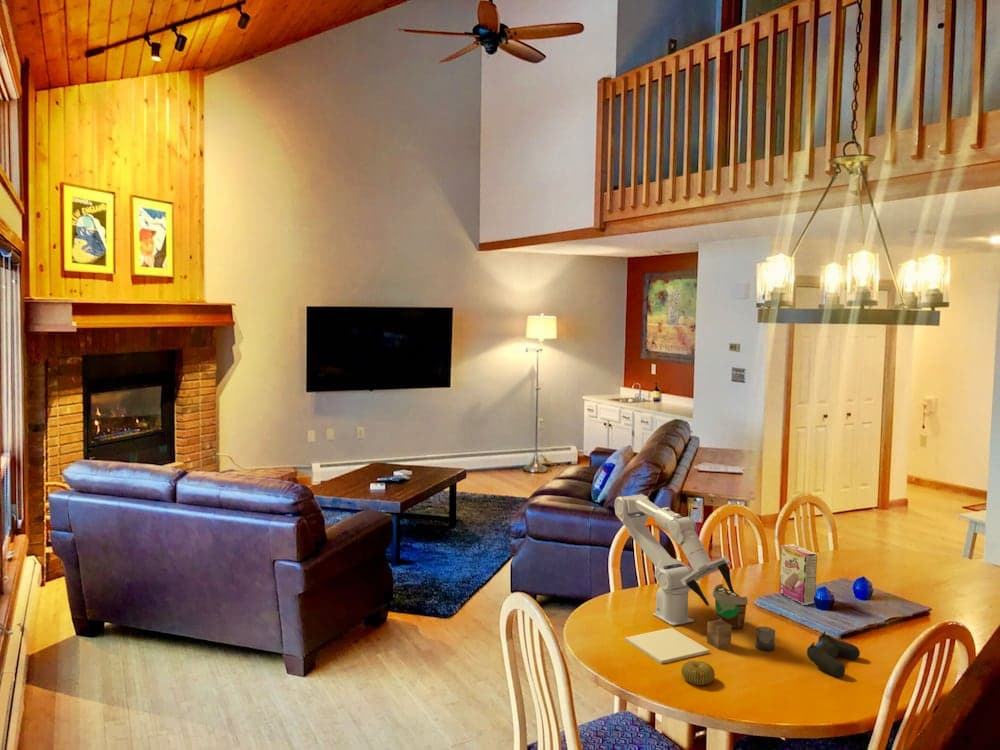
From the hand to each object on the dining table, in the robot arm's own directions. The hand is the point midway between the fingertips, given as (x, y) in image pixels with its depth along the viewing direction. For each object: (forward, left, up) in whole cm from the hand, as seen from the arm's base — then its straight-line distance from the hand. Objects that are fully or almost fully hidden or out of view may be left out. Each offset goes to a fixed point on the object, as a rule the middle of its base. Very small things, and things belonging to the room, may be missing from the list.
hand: (719, 598), depth 216 cm
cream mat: (-5, -14, -13) cm, 20 cm away
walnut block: (0, 0, -13) cm, 13 cm away
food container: (-10, +11, -13) cm, 20 cm away
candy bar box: (-16, +46, -13) cm, 50 cm away
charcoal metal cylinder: (+7, +10, -13) cm, 18 cm away
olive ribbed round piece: (+14, -19, -13) cm, 27 cm away
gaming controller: (+22, +19, -13) cm, 32 cm away
